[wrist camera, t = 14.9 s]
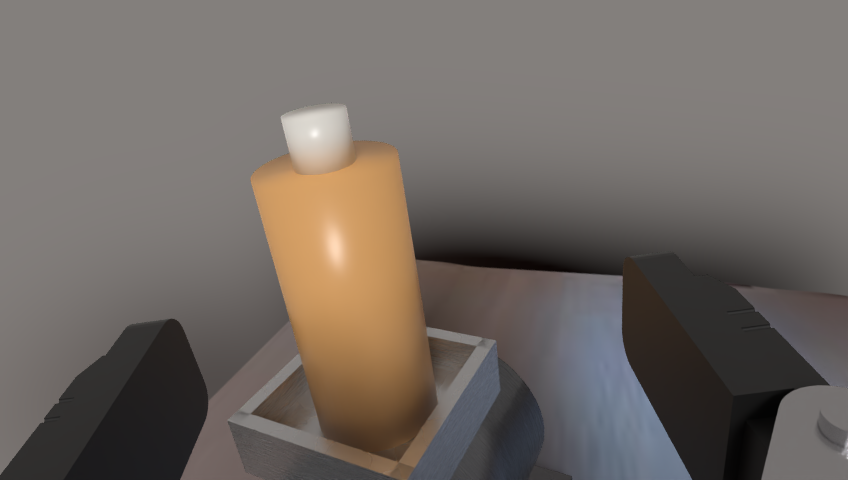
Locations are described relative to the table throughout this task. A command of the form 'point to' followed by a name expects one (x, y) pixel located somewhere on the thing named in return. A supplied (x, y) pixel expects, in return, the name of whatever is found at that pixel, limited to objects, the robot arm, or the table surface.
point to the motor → (424, 454)
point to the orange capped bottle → (349, 278)
